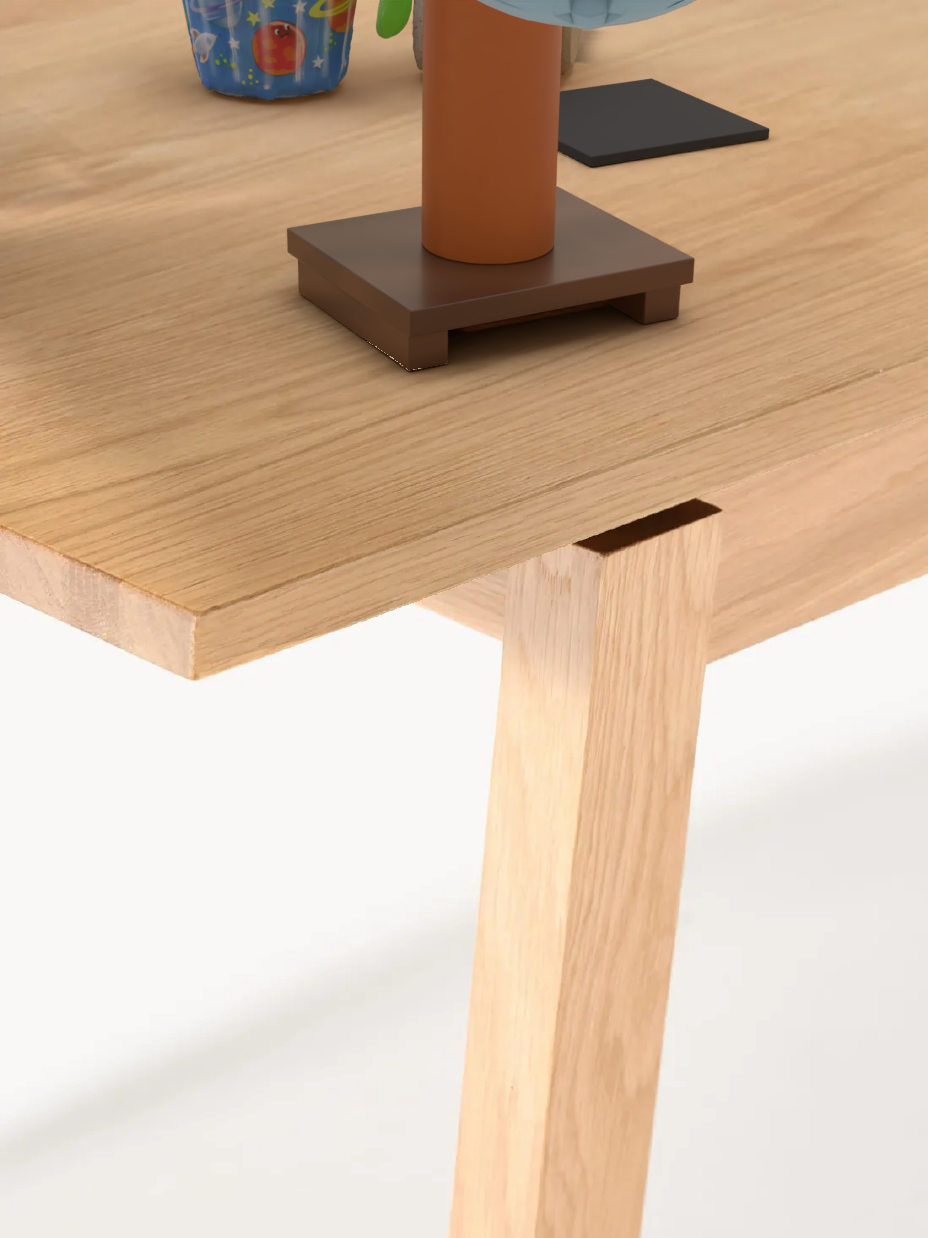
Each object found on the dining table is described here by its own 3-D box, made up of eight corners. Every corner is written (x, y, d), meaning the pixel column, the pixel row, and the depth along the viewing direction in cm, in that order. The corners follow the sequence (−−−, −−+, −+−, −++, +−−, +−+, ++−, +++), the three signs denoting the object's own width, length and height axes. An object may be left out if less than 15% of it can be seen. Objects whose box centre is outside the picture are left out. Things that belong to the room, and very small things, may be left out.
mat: (480, 112, 106) (481, 102, 106) (651, 87, 111) (651, 77, 110) (590, 167, 99) (591, 156, 98) (769, 138, 103) (770, 128, 103)
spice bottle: (397, 232, 83) (398, -94, 77) (511, 213, 85) (519, -106, 79) (462, 273, 79) (468, -68, 73) (579, 251, 81) (593, -81, 75)
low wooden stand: (287, 289, 84) (286, 227, 83) (551, 242, 89) (553, 183, 88) (410, 378, 77) (410, 311, 75) (691, 321, 82) (695, 257, 81)
